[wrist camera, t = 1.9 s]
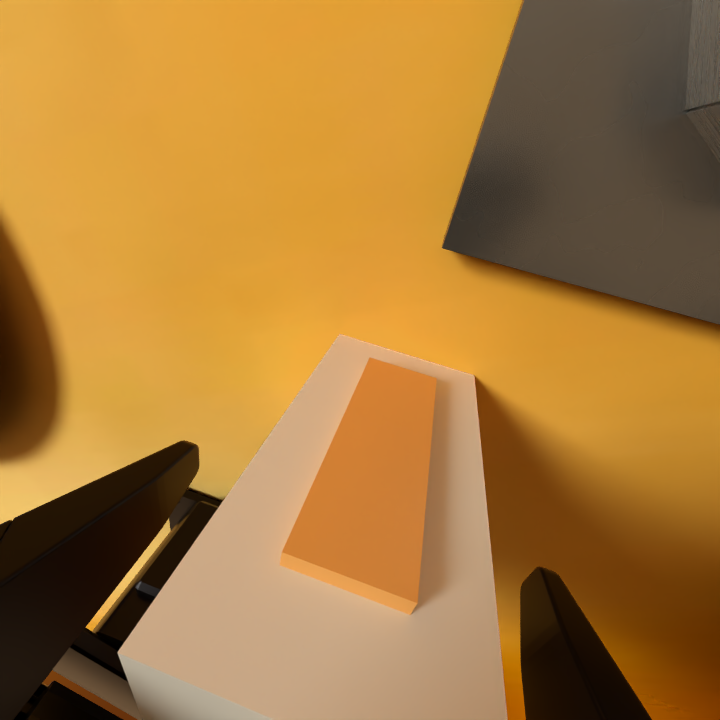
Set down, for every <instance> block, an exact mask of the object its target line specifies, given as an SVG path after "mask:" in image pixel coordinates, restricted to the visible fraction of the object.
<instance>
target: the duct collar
mask: <svg viewBox="0 0 720 720" xmlns="http://www.w3.org/2000/svg"><path fill="white" fill-rule="evenodd" d="M442 248H443V249H447V250H451V251H454V252H458V253H461V254H465V255H469V256H472V257H476V258H480V259H483V260H487V261H490V262H494V263H498V264H501V265H505V266H509V267H512V268H516V269H520V270H523V271H527V272H530V273H534V274H538V275H541V276H545V277H549V278H552V279H556V280H559V281H563V282H567V283H570V284H574V285H578V286H581V287H585V288H589V289H592V290H596V291H599V292H603V293H607V294H610V295H614V296H618V297H621V298H625V299H628V300H632V301H636V302H639V303H643V304H647V305H650V306H654V307H658V308H661V309H665V310H668V311H672V312H676V313H679V314H683V315H687V316H690V317H694V318H697V319H701V320H705V321H708V322H712V323H716V324H719V325H720V0H523V1H522V4H521V7H520V10H519V13H518V16H517V19H516V22H515V25H514V28H513V31H512V34H511V37H510V40H509V43H508V46H507V49H506V52H505V55H504V58H503V61H502V64H501V67H500V70H499V73H498V76H497V79H496V83H495V86H494V89H493V92H492V95H491V98H490V101H489V104H488V107H487V110H486V113H485V116H484V119H483V122H482V125H481V128H480V131H479V134H478V137H477V140H476V143H475V146H474V149H473V152H472V155H471V158H470V161H469V164H468V167H467V170H466V173H465V176H464V179H463V182H462V185H461V188H460V191H459V195H458V198H457V201H456V204H455V207H454V210H453V213H452V216H451V219H450V222H449V225H448V228H447V231H446V234H445V237H444V240H443V245H442Z"/></svg>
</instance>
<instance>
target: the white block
mask: <svg viewBox="0 0 720 720" xmlns="http://www.w3.org/2000/svg"><path fill="white" fill-rule="evenodd" d="M117 653H118V656H119V658H120V661H121V664H122V666H123V669H124V672H125V674H126V677H127V680H128V682H129V685H130V688H131V691H132V693H133V696H134V699H135V701H136V704H137V707H138V709H139V712H140V715H141V717H142V720H508V719H507V708H506V698H505V688H504V677H503V667H502V657H501V646H500V636H499V626H498V615H497V605H496V594H495V584H494V574H493V563H492V553H491V543H490V532H489V522H488V512H487V501H486V491H485V481H484V470H483V460H482V449H481V439H480V429H479V418H478V408H477V398H476V387H475V377H474V375H472V374H468V373H465V372H462V371H459V370H455V369H452V368H449V367H446V366H442V365H439V364H436V363H433V362H430V361H426V360H423V359H420V358H417V357H413V356H410V355H407V354H404V353H400V352H397V351H394V350H391V349H387V348H384V347H381V346H378V345H374V344H371V343H368V342H365V341H361V340H358V339H355V338H352V337H348V336H345V335H342V334H339V335H338V337H337V338H336V340H335V341H334V343H333V344H332V346H331V347H330V348H329V350H328V351H327V353H326V354H325V356H324V357H323V358H322V360H321V361H320V363H319V364H318V366H317V367H316V368H315V370H314V371H313V373H312V374H311V376H310V377H309V378H308V380H307V381H306V383H305V384H304V386H303V387H302V389H301V390H300V391H299V393H298V394H297V396H296V397H295V399H294V400H293V401H292V403H291V404H290V406H289V407H288V409H287V410H286V411H285V413H284V414H283V416H282V417H281V419H280V420H279V421H278V423H277V424H276V426H275V427H274V429H273V430H272V432H271V433H270V434H269V436H268V437H267V439H266V440H265V442H264V443H263V444H262V446H261V447H260V449H259V450H258V452H257V453H256V454H255V456H254V457H253V459H252V460H251V462H250V463H249V465H248V466H247V467H246V469H245V470H244V472H243V473H242V475H241V476H240V477H239V479H238V480H237V482H236V483H235V485H234V486H233V487H232V489H231V490H230V492H229V493H228V495H227V496H226V497H225V499H224V500H223V502H222V503H221V505H220V506H219V508H218V509H217V510H216V512H215V513H214V515H213V516H212V518H211V519H210V520H209V522H208V523H207V525H206V526H205V528H204V529H203V530H202V532H201V533H200V535H199V536H198V538H197V539H196V540H195V542H194V543H193V545H192V546H191V548H190V549H189V551H188V552H187V553H186V555H185V556H184V558H183V559H182V561H181V562H180V563H179V565H178V566H177V568H176V569H175V571H174V572H173V573H172V575H171V576H170V578H169V579H168V581H167V582H166V583H165V585H164V586H163V588H162V589H161V591H160V592H159V594H158V595H157V596H156V598H155V599H154V601H153V602H152V604H151V605H150V606H149V608H148V609H147V611H146V612H145V614H144V615H143V616H142V618H141V619H140V621H139V622H138V624H137V625H136V626H135V628H134V629H133V631H132V632H131V634H130V635H129V637H128V638H127V639H126V641H125V642H124V644H123V645H122V647H121V648H120V649H119V651H118V652H117Z"/></svg>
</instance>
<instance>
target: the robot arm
mask: <svg viewBox="0 0 720 720" xmlns="http://www.w3.org/2000/svg"><path fill="white" fill-rule="evenodd" d="M198 469H199V448H198V446H197V445H196V444H194V443H191V442H188V441H180V442H177V443H175V444H173V445H171V446H169V447H167V448H164V449H162V450H160V451H158V452H156V453H154V454H152V455H149V456H147V457H145V458H143V459H141V460H139V461H136V462H134V463H132V464H130V465H128V466H126V467H123V468H121V469H119V470H117V471H115V472H113V473H110V474H108V475H106V476H104V477H102V478H100V479H98V480H95V481H93V482H91V483H89V484H87V485H85V486H82V487H80V488H78V489H76V490H74V491H72V492H69V493H67V494H65V495H63V496H61V497H59V498H56V499H54V500H52V501H50V502H48V503H46V504H44V505H41V506H39V507H37V508H35V509H33V510H31V511H28V512H26V513H24V514H22V515H20V516H18V517H15V518H14V519H13V521H12V520H9V521H7V522H4V523H2V524H0V720H123V719H121V718H119V717H117V716H116V715H114V714H112V713H110V712H109V711H107V710H105V709H103V708H102V707H100V706H98V705H96V704H95V703H93V702H91V701H89V700H88V699H86V698H84V697H82V696H81V695H79V694H77V693H75V692H74V691H72V690H70V689H68V688H67V687H65V686H63V685H61V684H60V683H58V682H56V681H53V682H52V683H51V684H50V685H49V686H47V685H45V684H44V683H42V682H43V681H44V680H45V679H46V677H47V676H48V675H49V673H50V672H51V671H52V670H53V671H55V672H57V673H59V674H60V675H62V676H64V677H65V678H67V679H69V680H71V681H73V682H74V683H76V684H78V685H79V686H81V687H83V688H85V689H86V690H88V691H90V692H91V693H93V694H95V695H97V696H99V697H100V698H102V699H104V700H105V701H107V702H109V703H111V704H112V705H114V706H116V707H118V708H119V709H121V710H123V711H125V712H126V713H128V714H130V715H131V716H133V717H135V718H137V719H138V720H142V717H141V715H140V712H139V709H138V707H137V704H136V701H135V699H134V696H133V693H132V691H131V688H130V685H129V682H128V680H127V677H126V674H125V672H124V669H123V666H122V664H121V661H120V658H119V656H118V653H117V652H118V651H119V649H120V648H121V647H122V645H123V644H124V642H125V641H126V639H127V638H128V637H129V635H130V634H131V632H132V631H133V629H134V628H135V626H136V625H137V624H138V622H139V621H140V619H141V618H142V616H143V615H144V614H145V612H146V611H147V609H148V608H149V606H150V605H151V604H152V602H153V601H154V599H155V598H156V596H157V595H158V594H159V592H160V591H161V589H162V588H163V586H164V585H165V583H166V582H167V581H168V579H169V578H170V576H171V575H172V573H173V572H174V571H175V569H176V568H177V566H178V565H179V563H180V562H181V561H182V559H183V558H184V556H185V555H186V553H187V552H188V551H189V549H190V548H191V546H192V545H193V543H194V542H195V540H196V539H197V538H198V536H199V535H200V533H201V532H202V530H203V529H204V528H205V526H206V525H207V523H208V522H209V520H210V519H211V518H212V516H213V515H214V513H215V512H216V510H217V509H218V508H219V506H220V505H221V502H218V501H216V500H213V499H210V498H208V497H205V496H202V495H199V494H197V493H194V492H191V491H189V490H187V488H188V487H189V485H190V483H191V482H192V480H193V479H194V477H195V475H196V474H197V472H198ZM168 518H169V521H170V529H171V531H170V533H169V534H168V535H167V537H166V538H165V539H164V540H163V542H162V543H161V544H160V546H159V547H158V548H157V549H156V551H155V552H154V553H153V554H152V556H151V557H150V558H149V560H148V561H147V562H146V563H145V565H144V566H143V567H142V568H141V570H140V571H139V572H138V574H137V575H136V576H135V577H134V579H133V580H132V581H131V582H130V584H129V585H128V586H127V588H126V589H125V590H124V591H123V593H122V594H121V595H120V597H119V598H118V599H117V600H116V602H115V603H114V604H113V605H112V607H111V608H110V609H109V611H108V612H107V613H106V614H105V616H104V617H103V618H102V619H101V621H100V622H99V623H98V625H97V626H96V627H95V628H94V630H93V631H90V630H88V629H87V628H85V627H86V626H87V624H88V623H89V622H90V621H91V619H92V618H93V617H94V615H95V614H96V613H97V612H98V610H99V609H100V608H101V606H102V605H103V604H104V603H105V601H106V600H107V599H108V597H109V596H110V595H111V593H112V592H113V591H114V590H115V588H116V587H117V586H118V584H119V583H120V582H121V581H122V579H123V578H124V577H125V575H126V574H127V573H128V572H129V570H130V569H131V568H132V566H133V565H134V564H135V563H136V561H137V560H138V559H139V557H140V556H141V555H142V554H143V552H144V551H145V550H146V548H147V547H148V546H149V544H150V543H151V542H152V541H153V539H154V538H155V537H156V535H157V534H158V533H159V531H160V530H161V529H162V527H163V526H164V524H165V523H166V521H167V520H168ZM520 652H521V673H522V684H523V694H524V705H525V715H526V720H652V719H651V717H650V716H649V714H648V713H647V711H646V710H645V708H644V707H643V705H642V703H641V702H640V700H639V699H638V697H637V696H636V694H635V693H634V691H633V689H632V688H631V686H630V685H629V683H628V682H627V680H626V679H625V677H624V675H623V674H622V672H621V671H620V669H619V668H618V666H617V665H616V663H615V662H614V660H613V658H612V657H611V655H610V654H609V652H608V651H607V649H606V648H605V646H604V644H603V643H602V641H601V640H600V638H599V637H598V635H597V634H596V632H595V631H594V629H593V627H592V626H591V624H590V623H589V621H588V620H587V618H586V617H585V615H584V613H583V612H582V610H581V609H580V607H579V606H578V604H577V603H576V601H575V599H574V598H573V596H572V595H571V593H570V592H569V590H568V589H567V587H566V586H565V584H564V582H563V581H562V579H561V578H560V576H559V575H558V574H557V573H556V572H554V571H552V570H549V569H546V568H543V567H537V568H535V569H534V571H533V572H532V573H531V574H530V575H529V576H528V577H527V578H526V580H525V581H524V582H523V584H522V586H521V592H520Z"/></svg>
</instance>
